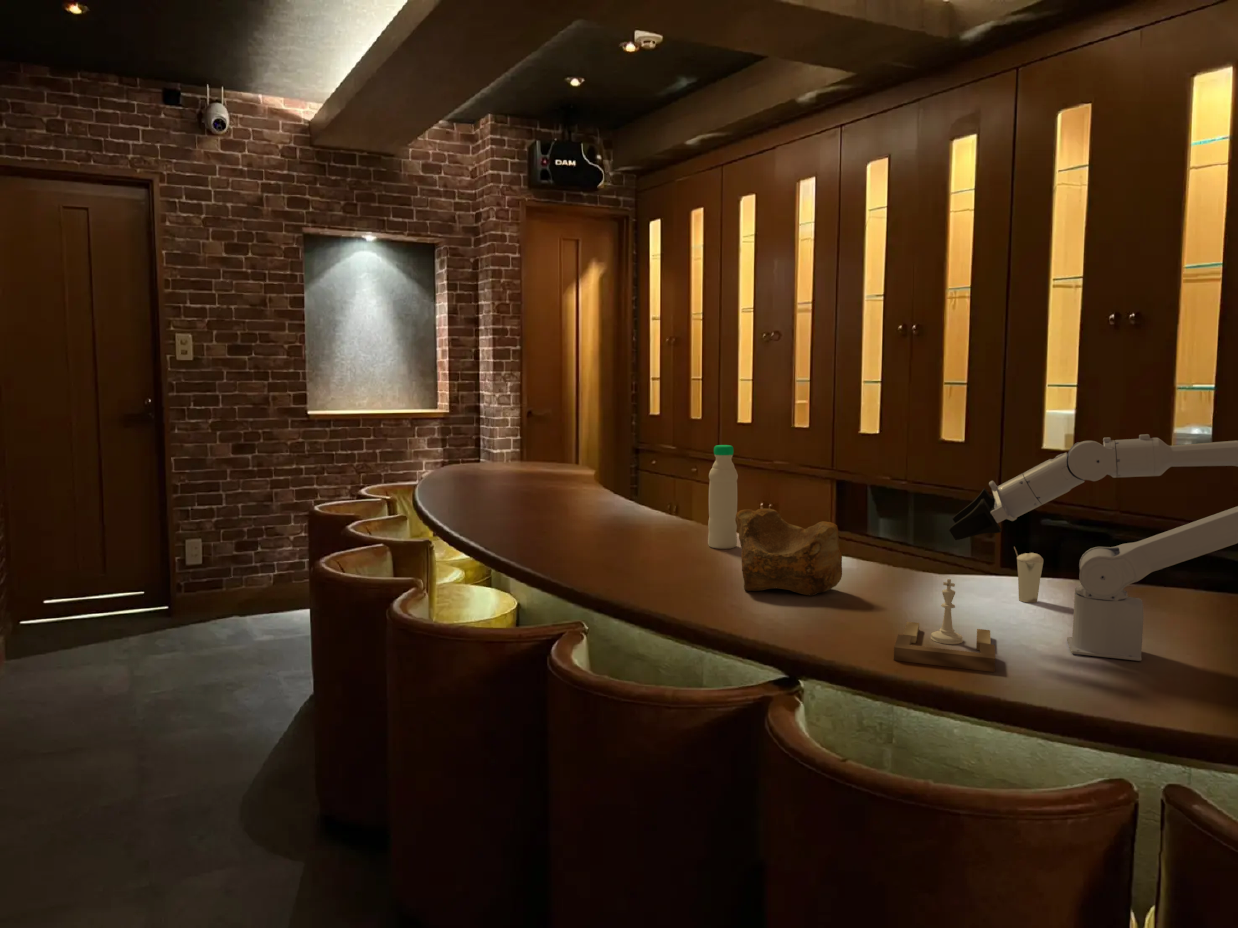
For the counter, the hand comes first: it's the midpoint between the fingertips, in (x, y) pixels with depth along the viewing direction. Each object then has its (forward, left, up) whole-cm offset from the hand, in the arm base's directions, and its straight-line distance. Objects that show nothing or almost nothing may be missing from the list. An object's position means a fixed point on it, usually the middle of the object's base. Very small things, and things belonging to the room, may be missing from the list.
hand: (954, 528), depth 148 cm
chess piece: (0, +5, -18) cm, 18 cm away
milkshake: (-13, -27, -18) cm, 35 cm away
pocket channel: (0, +5, -17) cm, 18 cm away
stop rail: (0, +15, -17) cm, 23 cm away
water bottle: (+54, -55, -18) cm, 79 cm away
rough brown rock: (+33, -18, -18) cm, 42 cm away
